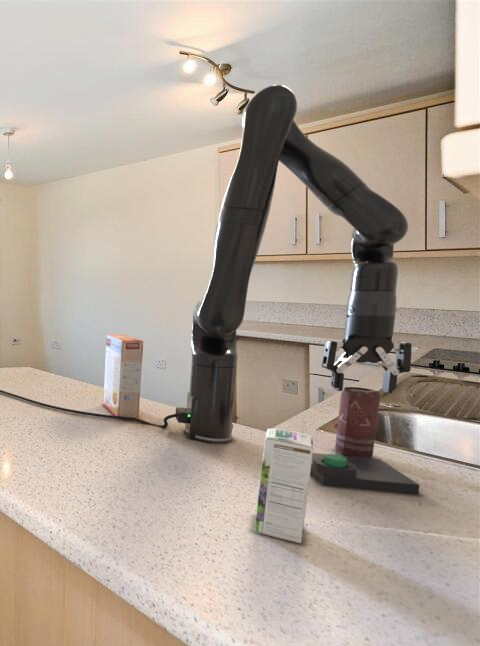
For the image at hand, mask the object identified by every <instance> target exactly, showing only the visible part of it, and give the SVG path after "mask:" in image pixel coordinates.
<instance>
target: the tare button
mask: <svg viewBox="0 0 480 646" xmlns="http://www.w3.org/2000/svg"><path fill="white" fill-rule="evenodd" d="M324 454H325V455H324V464H327V465H330V466H334V467H342V468H344V467H346V461H347V459H346V458H345V457H343V455H341V454H336V453H335V454H334V453H324Z"/></svg>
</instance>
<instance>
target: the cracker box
mask: <svg viewBox="0 0 480 646" xmlns="http://www.w3.org/2000/svg"><path fill="white" fill-rule="evenodd" d="M105 341H106V343H105V344H106V345H105V365H104V383H103V385H104V387H103V402H102V403H103V405H104V406H105V407H106V408H107V410H109V412H111V413H112V414H113V416H122V417H130V418H136V419H139V417H140V403H141V402H140V400H141V385H142V367H143V354H144V353H143V351H144V340H141V339H138V338H136V337H133V336H130V335H126V334H121V333H120V334H119V333H117V334H114V333H113V334H106V340H105Z"/></svg>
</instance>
